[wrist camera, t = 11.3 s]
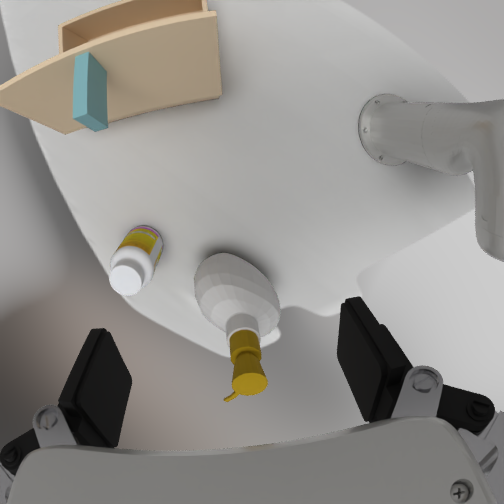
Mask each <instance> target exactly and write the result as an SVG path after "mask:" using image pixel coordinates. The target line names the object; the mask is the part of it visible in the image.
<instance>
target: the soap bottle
mask: <svg viewBox="0 0 504 504" xmlns="http://www.w3.org/2000/svg"><path fill="white" fill-rule="evenodd" d="M194 285H195V297H196V300H197V302H198V304H199V307H200V309H201V312H202V314H203V315H204V316H205V318H206V319H207V320H208V321H210V322H211V323H212V324H214V325H215V326H216V327H218V328H219V329H221V330H222V331H224V332H226V335H227V344H228V346H229V348H230V355H231V362H232V363H233V364H234V372H233V379H232V388H233V390H234V392H233V393H232V394H231V395H230V396H228V397H226V398H225V399H224V401H226V402H228V401H230V400H232V399H234V398H236V397H237V396H238V395H239V394H241V395H247V396H248V395H255V394H258V393H260V392H262V391H263V390H264V389H265V388H266V386H267V384H268V383H267V382H268V381H267V379H266V376H265V374H264V371H263V369H262V367H261V364H260V360H261V350H260V341H261V337H263V336H265V335H267V334H269V333H270V332H271V331H273V330H274V329H275V327H276V325H277V324H278V321H279V319H280V315H281V308H280V304H279V300H278V296H277V294H276V292H275V290H274V288H273V286H272V284H271V283H270V282H269V280H268V279H267V278H266V277H265V276H264V275H263V274H262V273H261V272H260V271H259V270H258V269H257V268H255V267H254V266H253V265H251V264H250V263H248V262H247V261H245V260H243V259H241V258H239V257H237V256H235V255H232V254H228V253H219V254H215V255H213V256H211V257H209V258H207V259H205V260H204V261H203V262H202V263H201V264H200V265H199V267H198V269H197V271H196V274H195V277H194Z"/></svg>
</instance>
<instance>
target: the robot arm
mask: <svg viewBox="0 0 504 504" xmlns="http://www.w3.org/2000/svg"><path fill="white" fill-rule="evenodd" d="M375 102H376V104H375ZM363 129H364V131H363ZM359 135H360V139H361V142H362V144H363V146H364V148H365V150H366V151H367V153H368V154H369V155H370V156H371V157H372V158H373V159H375V160H376V161H378V162H380V163H383V164H386V165H391V166H392V165H399V164H403V163H404V162H406V161H407V162H411V163H414V164H417V165H420V166H424V167H427V168H430V169H433V170H436V171H439V172H442V173H445V174H449V175H456V176H458V175H463V174H467V173H469V172H471V171H473V172H474V183H475V216H476V217H475V226H476V237H477V241H478V243H479V245H480V247H481V248H482V249H483V251H484V252H486V253H487V254H488V255H490V256H491V257H493V258H495V259H498V260H500V261H503V262H504V100H494V101H486V102H477V103H433V102H407V101H406V100H404V99H403V98H401V97H399V96H396V95H392V94H384V95H379V96H376V97H374V98H372V99H371V100H370V101H369V102H368V103H367V104H366V105H365V106H364V108H363V110H362V112H361V115H360V118H359ZM379 156H380V157H379ZM337 357H338V361H339V363H340V365H341V368H342V370H343V372H344V375H345V377H346V379H347V381H348V384H349V386H350V388H351V391H352V393H353V395H354V397H355V400H356V402H357V405H358V407H359V409H360V412H361V414H362V416H363V419H364V421H366V422H367V421H369V424H364V425H361V426H357V427H353V428H348V429H345V430H340V431H336V432H331V433H327V434H322V435H317V436H312V437H308V438H302V439H297V440H291V441H285V442H279V443H272V444H264V445H257V446H248V447H239V448H227V449H212V450H189V451H155V450H153V451H152V450H131V449H116V448H114V447H117V446H118V442H119V437H120V433H121V428H122V423H123V419H124V414H125V410H126V406H127V401H128V397H129V393H130V389H131V386H132V378H131V375H130V373H129V371H128V369H127V367H126V365H125V363H124V361H123V359H122V357H121V355H120V353H119V351H118V348H117V346H116V344H115V342H114V340H113V337H112V335H111V333H110V332H107V330H106V329H104V328H100V329H92V330H91V331H90V333H89V335H88V337H87V339H86V341H85V343H84V345H83V347H82V349H81V351H80V353H79V355H78V357H77V359H76V361H75V364H74V366H73V368H72V370H71V372H70V375H69V377H68V379H67V381H66V384H65V386H64V388H63V391H62V393H61V395H60V398H59V400H58V401H59V404H58V406H55V405H46V406H44V407H42V408H40V409H39V410H38V411H37V412H36V414H35V416H34V418H33V427H34V428H33V429H31V430H29V431H28V432H26V433H24V434H23V435H21V436H19V437H18V438H16V439H14V440H13V441H11V442H9V443H8V444H7V445H6V446H4V447H3V449H2V451H1V453H0V504H504V412H502V411H500V412H499V413H497V412H496V411H495V407H494V404H493V403H492V401H491V400H490V399H489V398H487V397H486V396H484V395H481V394H477V393H473V392H469V391H466V390H462V389H458V388H454V387H451V386H448V385H444V384H443V379H442V376H441V374H440V373H439V372H438V371H437V370H435V369H434V368H432V367H429V366H417V367H413V366H412V364H411V363H410V361H409V360H408V358H407V357H406V356H405V354H404V352H403V351H402V349H401V348H400V347H399V345H398V344H397V342H396V341H395V339H394V338H393V336H392V335H391V333H390V332H389V331H388V329H387V328H386V326H385V325H383V324H379V323H378V321H377V320H376V318H375V317H374V315H373V314H372V312H371V311H370V310H369V308H368V307H367V305H366V304H365V302H364V301H363V300H362V298H361V297H353V298H348V299H346V300H345V303H342V304H341V312H340V325H339V336H338V346H337Z"/></svg>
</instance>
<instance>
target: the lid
mask: <svg viewBox="0 0 504 504" xmlns="http://www.w3.org/2000/svg"><path fill="white" fill-rule="evenodd" d="M220 95H222V85H221V72H220V59H219V45H218V30H217V16H216V10H214V11H207V12H200V13H194V14H188V15H183V16H178V17H173V18H168V19H163V20H159V21H155V22H151V23H147V24H143V25H139V26H136V27H132V28H129V29H126V30H122V31H119V32H116V33H113V34H110V35H107V36H104V37H101V38H98V39H95V40H93V41H90V42H87V43H85V44H82V45H80V46H77V47H75V48H73V49H70V50H68V51H65V52H63V53H61V54H59V55H57V56H54V57H52V58H50V59H48V60H46V61H44V62H42V63H40V64H38V65H36V66H34V67H32V68H30V69H28V70H26V71H25V72H23V73H21V74H19V75H17V76H16V77H14V78H12V79H10V80H9V81H7V82H5V83H4V84H2V85H0V106H1V107H3V108H6V109H8V110H10V111H13V112H15V113H17V114H20V115H22V116H24V117H27V118H29V119H31V120H33V121H36V122H38V123H40V124H43V125H45V126H47V127H49V128H52V129H54V130H56V131H58V132H61V133H63V134H65V135H66V134H69V133H71V132H74V131H77V130H80V129H83V128H86V127H88V128H90V129H91V130H93V131H95V132H96V131H99V130H102V129H106V128H108V120H111V119H115V118H118V117H122V116H125V115H129V114H132V113H136V112H140V111H144V110H148V109H152V108H157V107H161V106H165V105H170V104H175V103H180V102H185V101H190V100H195V99H201V98H207V97H213V96H220Z"/></svg>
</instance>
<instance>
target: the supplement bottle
mask: <svg viewBox="0 0 504 504" xmlns="http://www.w3.org/2000/svg"><path fill="white" fill-rule="evenodd" d="M162 250H163V242H162V239H161V237H160V235H159V234H158V232H157V231H155V230H154V229H152V228H150V227H147V226H139V227H136V228H134V229H132V230H131V231H130V232H129V233H128V234H127V236H126V237H125V239H124V240H123V242H122V243H121V244H120V246H119V247H118V249H117V250H116V252H115V253H114V255H113V256H112V258H111V262H110V270H111V272H110V275H109V281H110V284H111V286H112V287H113V289H114V290H115V291H116V292H118V293H119V294H121V295H125V296H132V295H135V294H136V293H138V292H139V290H140V289H141V288H143V287H145V286H146V285H147V284H149V282H150V281H151V279H152V277H153V275H154V272H155V269H156V266H157V264H158V261H159V259H160V256H161V253H162Z"/></svg>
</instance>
